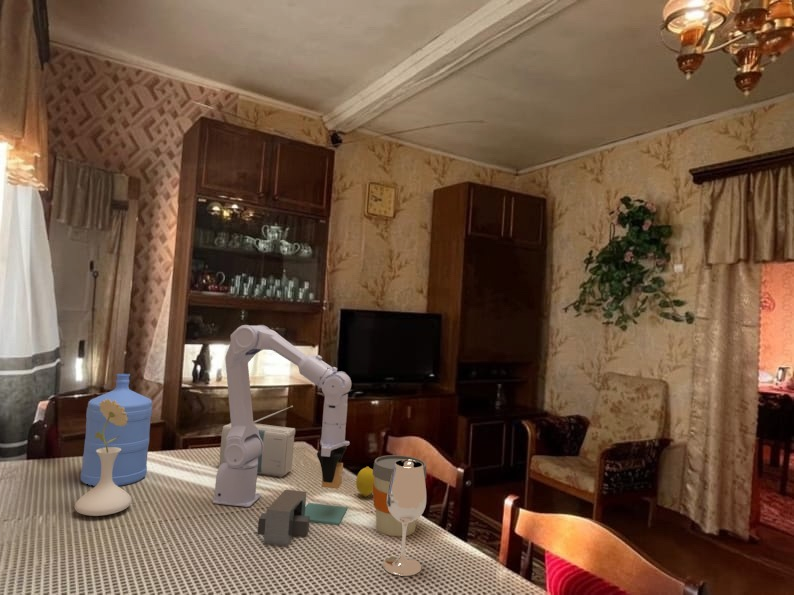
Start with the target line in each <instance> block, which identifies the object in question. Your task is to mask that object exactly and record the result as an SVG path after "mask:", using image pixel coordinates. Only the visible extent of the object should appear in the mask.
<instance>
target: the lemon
mask: <svg viewBox="0 0 794 595" xmlns="http://www.w3.org/2000/svg"><path fill="white" fill-rule="evenodd" d="M355 483H356V484H355V485H356V489H357V491H358V492H359V493H360V494H361V495H363V497H365V498H366V497H368V496H369V495H371V494H373V484H374V475H373V468H370V467H369V466H366V467H363V468H362V469H360V471H359V472H358V473H357V476H356V482H355Z"/></svg>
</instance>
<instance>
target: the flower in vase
mask: <svg viewBox="0 0 794 595" xmlns="http://www.w3.org/2000/svg"><path fill="white" fill-rule="evenodd" d="M101 402H102V403H101ZM101 402H100V411H101V412H102V413H103V415H104V416H105V417H106V419H107V421H106V423H105V425H104V428H103V431H102V434H101V433H100V432H98V431H97V433H96V435H95V436H94V437H96V438H99V439H100V440H102V441H103V440H104V444H105V448H100V449H98V450H96V452H97V453H98V455H99V456H100V459H101V478H100V481H99V483H98V484H97V485H96V486H93V488H91V489H90V490H88V491H87V492H86V493H85V494H83V495H82V496H81V497H80V498H79V499H77V501H76V502H75V505H74V509H75V511H76V512H77V513H78V514H81V515H84V516H92V517H99V516H108V515H112V514H116V513H119V512H122V511H124V510H125V509H128V507H130V505H131V504H132V502H133V500H132V499H133V498H132V496H131V495H130V494H129V493H128V492H127V491H125V490H124V489H122V487H121V486H117V485H115V484H114V482H113V480H112V470H113V465H114V461H115V458H116V456H117V455H118V453H119V452H120V451H121V448H117V447H107V443H109V442H111V441H113V440H115V439H116V438H114V439H112V440H110V441H108V442H107V443H106V441H105V438H104V430H105V427H106V425H107V423H108V421H110V422H111V423H114V424H115V425H116V426H120V427H121V426H124V425H127V420H128V418H127V414H126V413H125V412H124V411H125V409H124V408H122V407H121V406H120V405H119V404H117V403H116V401H115V400H113V401H112V402H111V401H110V399H105V401H101ZM120 407H121V408H120ZM118 437H119V436H118ZM118 437H117V438H118Z"/></svg>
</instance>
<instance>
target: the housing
mask: <svg viewBox="0 0 794 595" xmlns="http://www.w3.org/2000/svg"><path fill="white" fill-rule="evenodd" d="M306 502H307V491H301V490H293V489H285V490H283V492H281V493H280V495H278V496H277V498H276V499H275V500H274V501H273V502H272V503H271V504H270V505H269V506H268V507H267V508H266V511H265V513H266V521H265V533H264V534H263V536H264V538H263V544H264V545H271V546H278V547H279V546H280V547H288V546H289V545H290V543H291V542H292V540H293V538H292V537H293V536H292V529H293V516H294V515H301V516H305V507H306V505H307V504H306Z"/></svg>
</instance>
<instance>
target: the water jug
mask: <svg viewBox="0 0 794 595" xmlns="http://www.w3.org/2000/svg"><path fill="white" fill-rule="evenodd" d="M130 376H131V374H130V373H116V380H115V383H116V385H115V388H114V389H113V390H110V391H109V392H105V393H103V394H101V395H98V396H97V397H93V398H91V399H89V401H88V403H87V407H86V413H85V414H86V415H85V417H86V419H85V420H86V422H85V436H84V437H85V439H84V445H83V446H84V448H83V455H82V464H81V465H82V466H81V471H80V481H81V482H82V483H84V484H86V485H87V484H88V486H91V485H93V486H92V487H95V486H96V485H97V484H98V483H99V481H100V478H101V459H100V456H99V455H98V453H97V452H96V450H98V449H100V448H105V444H104V440H103V441H102V440H100V439H99V438H96V437H94V436H95V435H96V433H97V431H98V432H100V433H101V434H102V431H103V428H104V425H105V423H106V421H107V419H106V417H105V416H104V415H103V413H102V412H101V411H100V402H101V401H105V399H110V401H111V402H112V401H113V400H115V401H116V403H117V404H119V405H120V406H121V407H122V408H124V409H125V411H124V412H125V413H126V414H127V418H128V420H127V425H124V426H121V427H120V426H116V425H115V424H114V423H111V422H110V421H108V423H107V425H106V427H105V430H104V438H105V441H106V443H107V442H108V441H110V440H112V439H114V438H116V439H115V440H113V441H111V442H109V443H107V447H117V448H121V451H120V452H119V453H118V455H117V456H116V458H115V461H114V465H113V470H112V480H113V482H114V484H115V485H117V486H118V487H121V486H126V485H130V484H134V483H136V482H138V481H141V480H143V478H145V477H146V475H147V473H148V472H147V469H148V466H147V465H148V464H147V462H148V455H149V454H148V452H149V451H148V450H149V446H150V430H151V418H152V414H153V401H152V399H150V398H149V397H147V396H144V395H142V394H140V393H138V392H135V391H133V390H131V389H130V387H129V384H130ZM101 403H102V402H101ZM121 407H120V408H121ZM118 436H119V437H118ZM117 437H118V438H117Z"/></svg>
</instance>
